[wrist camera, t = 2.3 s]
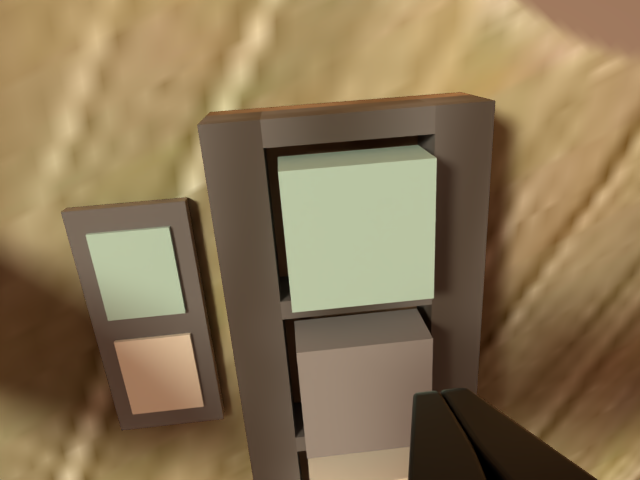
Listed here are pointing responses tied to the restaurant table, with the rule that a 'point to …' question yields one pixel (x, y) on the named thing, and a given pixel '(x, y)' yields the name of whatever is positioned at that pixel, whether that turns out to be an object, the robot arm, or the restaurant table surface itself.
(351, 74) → the restaurant table surface
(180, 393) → the tile
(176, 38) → the restaurant table surface
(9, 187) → the restaurant table surface
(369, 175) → the key sage green
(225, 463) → the restaurant table surface
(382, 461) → the key ivory
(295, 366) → the keypad
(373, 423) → the key gray
